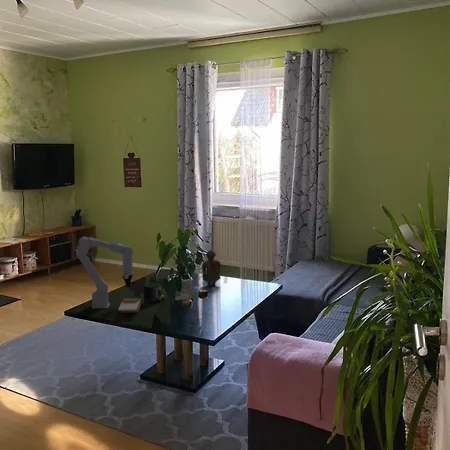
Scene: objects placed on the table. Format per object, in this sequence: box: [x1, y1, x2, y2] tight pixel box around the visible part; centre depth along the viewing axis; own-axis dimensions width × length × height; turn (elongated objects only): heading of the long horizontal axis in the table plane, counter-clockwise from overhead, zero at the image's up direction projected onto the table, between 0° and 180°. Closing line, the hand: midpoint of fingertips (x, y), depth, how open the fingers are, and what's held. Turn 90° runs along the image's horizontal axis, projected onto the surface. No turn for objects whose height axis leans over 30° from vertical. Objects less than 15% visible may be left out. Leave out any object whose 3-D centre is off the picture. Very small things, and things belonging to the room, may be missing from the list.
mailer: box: [120, 298, 142, 314], centre depth 287 cm, size 10×13×4 cm
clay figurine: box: [201, 250, 221, 288], centre depth 331 cm, size 13×10×25 cm
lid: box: [118, 298, 139, 312], centre depth 278 cm, size 10×13×3 cm
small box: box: [143, 281, 163, 305], centre depth 301 cm, size 11×6×10 cm, turn 148°
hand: (128, 287), depth 295 cm, fingers closed
